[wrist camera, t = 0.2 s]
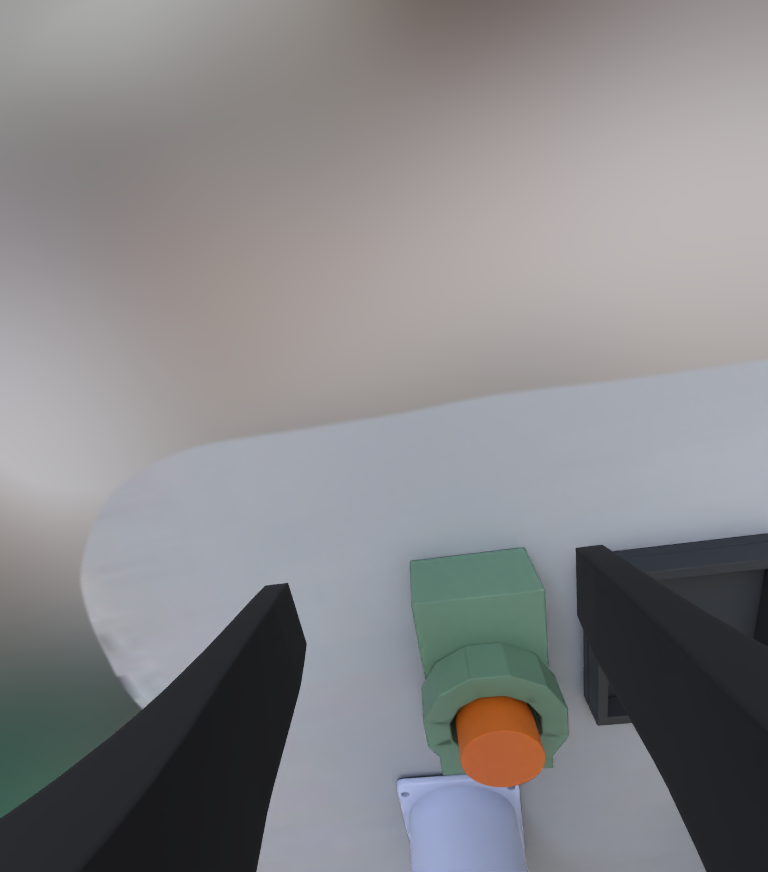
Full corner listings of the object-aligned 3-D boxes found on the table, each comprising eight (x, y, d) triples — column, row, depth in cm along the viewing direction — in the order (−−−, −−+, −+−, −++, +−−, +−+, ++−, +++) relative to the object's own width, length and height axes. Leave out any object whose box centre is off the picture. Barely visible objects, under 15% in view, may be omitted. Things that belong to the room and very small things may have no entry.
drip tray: (747, 682, 24) (773, 712, 22) (584, 696, 25) (597, 726, 23) (772, 532, 21) (805, 554, 19) (582, 554, 21) (598, 577, 20)
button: (535, 743, 20) (547, 785, 18) (459, 749, 20) (465, 790, 18) (531, 689, 19) (544, 728, 17) (451, 695, 19) (456, 735, 17)
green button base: (539, 710, 25) (571, 807, 21) (434, 719, 26) (441, 815, 21) (529, 546, 21) (565, 619, 17) (405, 561, 22) (406, 636, 17)
